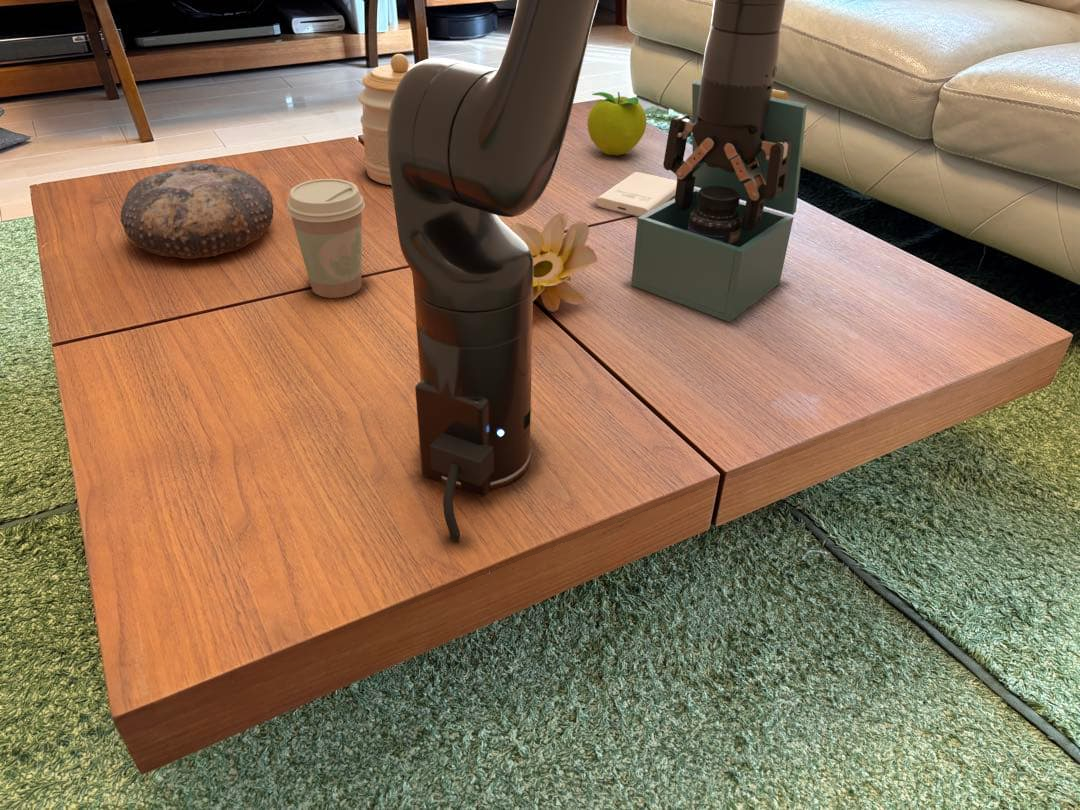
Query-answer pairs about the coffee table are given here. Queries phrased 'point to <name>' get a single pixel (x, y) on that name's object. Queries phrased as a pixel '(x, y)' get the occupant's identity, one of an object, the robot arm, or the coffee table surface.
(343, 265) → the coffee cup
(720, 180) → the lid
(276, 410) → the coffee table surface
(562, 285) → the decorative flower
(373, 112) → the jar
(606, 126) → the fruit
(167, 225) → the sea urchin shell
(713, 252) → the chest
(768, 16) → the robot arm
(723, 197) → the pill bottle
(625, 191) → the hard drive
